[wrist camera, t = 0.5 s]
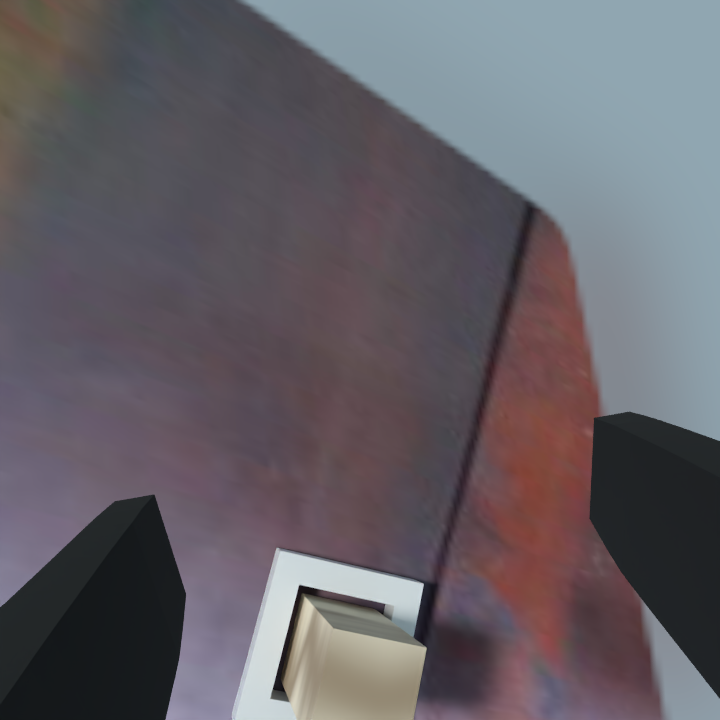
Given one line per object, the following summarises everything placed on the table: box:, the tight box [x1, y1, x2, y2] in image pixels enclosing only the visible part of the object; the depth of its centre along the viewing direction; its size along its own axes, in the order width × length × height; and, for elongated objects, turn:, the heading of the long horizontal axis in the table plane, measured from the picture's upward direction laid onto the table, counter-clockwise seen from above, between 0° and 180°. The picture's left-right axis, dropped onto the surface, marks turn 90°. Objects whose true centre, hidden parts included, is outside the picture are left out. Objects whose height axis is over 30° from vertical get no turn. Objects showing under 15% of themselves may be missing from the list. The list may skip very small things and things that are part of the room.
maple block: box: [280, 593, 427, 720], centre depth 28 cm, size 4×4×8 cm
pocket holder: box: [232, 547, 424, 720], centre depth 31 cm, size 9×9×2 cm
